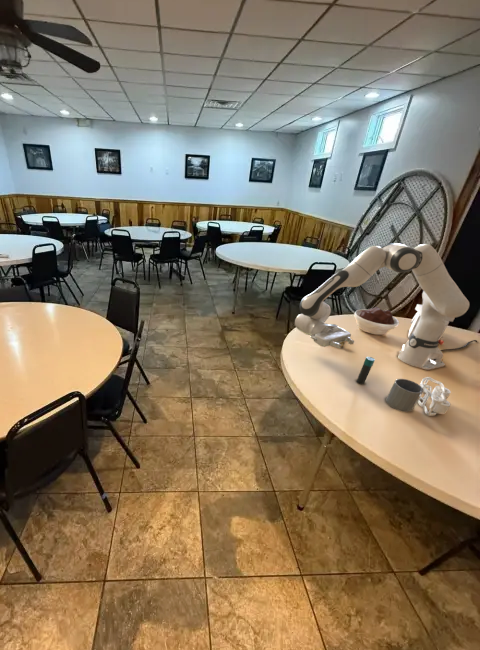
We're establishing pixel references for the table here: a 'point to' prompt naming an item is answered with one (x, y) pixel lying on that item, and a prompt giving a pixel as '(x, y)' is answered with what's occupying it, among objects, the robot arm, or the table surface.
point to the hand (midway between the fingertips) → (346, 344)
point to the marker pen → (365, 370)
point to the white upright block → (417, 317)
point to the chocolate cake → (375, 320)
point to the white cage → (435, 397)
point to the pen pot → (404, 395)
